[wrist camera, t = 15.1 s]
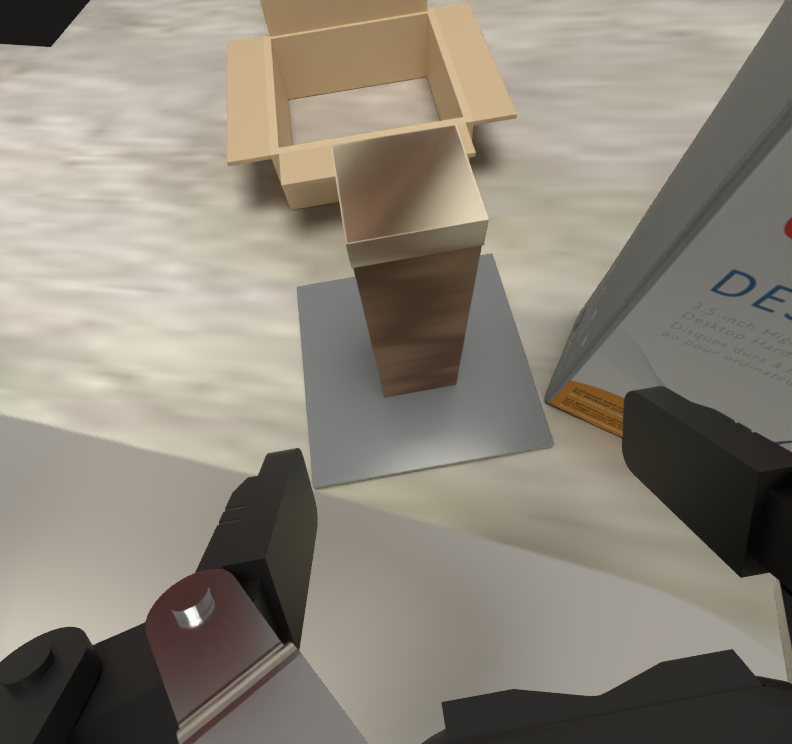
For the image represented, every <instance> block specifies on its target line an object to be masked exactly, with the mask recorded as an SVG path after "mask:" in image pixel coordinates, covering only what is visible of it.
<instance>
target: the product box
mask: <svg viewBox="0 0 792 744" xmlns="http://www.w3.org/2000/svg"><path fill="white" fill-rule="evenodd" d="M89 1H90V0H0V44H12V45H28V46H44V47H51V46H52V45H53V44H54V43H55V41H56V40H57V39H58V38H59V37H60V35H61V34H62V33H63V32H64V31H65V29H66V28H67V27H68V26H69V25H70V24H71V22H72V21H73V20H74V19H75V18H76V16H77V15H78V14H79V13H80V12H81V10H82V9H83V8H84V7H85V6H86V4H87V3H88V2H89Z"/></svg>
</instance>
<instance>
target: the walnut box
mask: <svg viewBox="0 0 792 744" xmlns="http://www.w3.org/2000/svg"><path fill="white" fill-rule="evenodd" d="M331 151H332V157H333V164H334V170H335V177H336V183H337V190H338V196H339V203H340V209H341V216H342V222H343V229H344V235H345V242H346V247H347V251H348V255H349V259H350V263H351V267H352V268H353V269H354V273H355V277H356V281H357V286H358V290H359V294H360V298H361V302H362V306H363V311H364V315H365V319H366V323H367V327H368V332H369V336H370V340H371V344H372V348H373V352H374V357H375V361H376V365H377V369H378V373H379V377H380V382H381V386H382V390H383V394H384V398H386V397H392V396H397V395H403V394H408V393H414V392H419V391H425V390H431V389H436V388H442V387H447V386H453V385H456V383H457V378H458V372H459V367H460V361H461V356H462V351H463V345H464V340H465V334H466V329H467V323H468V318H469V312H470V307H471V302H472V296H473V291H474V285H475V280H476V274H477V269H478V263H479V258H480V253H481V247H482V245H484V241H485V236H486V231H487V226H488V220H489V219H488V216H487V213H486V210H485V207H484V204H483V201H482V198H481V195H480V193H479V190H478V187H477V184H476V181H475V178H474V175H473V172H472V169H471V166H470V163H469V160H468V157H467V154H466V152H465V149H464V146H463V143H462V140H461V137H460V134H459V131H458V128H457V125H456V124H453V125H447V126H441V127H435V128H430V129H424V130H418V131H412V132H406V133H400V134H395V135H389V136H383V137H377V138H371V139H365V140H360V141H354V142H348V143H342V144H336V145H331Z"/></svg>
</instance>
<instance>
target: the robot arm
mask: <svg viewBox="0 0 792 744" xmlns="http://www.w3.org/2000/svg"><path fill="white" fill-rule="evenodd" d="M622 452H623V456H624V460H625V462H626V464H627V466H628V468H629V470H630V471H631V472H632V473H633V474H634V475H635V476H636V477H637V478H638V479H639V480H640V481H641V482H642V483H643V484H644V485H645V486H646V487H647V488H648V489H649V490H650V491H651V492H652V493H653V494H655V495H656V496H657V497H658V498H659V499H660V500H661V501H662V502H663V503H664V504H665V505H666V506H667V507H668V508H669V509H670V510H671V511H672V512H673V513H674V514H675V515H676V516H677V517H678V518H679V519H680V520H681V521H683V522H684V523H685V524H686V525H687V526H688V527H689V528H690V529H691V530H692V531H693V532H694V533H695V534H696V535H697V536H698V537H699V538H700V539H701V540H702V541H703V542H704V543H705V544H706V545H707V546H708V547H709V548H711V549H712V550H713V551H714V552H715V553H716V554H717V555H718V556H719V557H720V558H721V559H722V560H723V561H724V562H725V563H726V564H727V565H728V566H729V567H730V568H731V569H732V570H733V571H734V572H735V573H736V574H737V575H739V576H740V577H741V578H742V577H748V576H753V575H759V574H764V573H771V574H772V575H773V576H775V577H776V583H775V588H774V598H775V604H776V610H777V616H778V623H779V629H780V635H781V641H782V647H783V653H784V659H785V665H786V671H787V678H788V682H786V681H782V680H777V679H771V678H766V677H761V676H755V675H754V674H753V673H752V672H751V671H750V669H749V668H748V667H747V666H746V664H745V663H744V662H743V661H742V660H741V659H740V657H739V656H738V655H737V654H736V653H735V651H734V650H733V649H731V650H725V651H720V652H714V653H709V654H703V655H698V656H692V657H687V658H681V659H676V660H670V661H665V662H661V663H659V664H657V665H655V666H653V667H652V668H650V669H648V670H646V671H645V672H643V673H641V674H639V675H637V676H635V677H634V678H632V679H630V680H628V681H626V682H624V683H623V684H621V685H619V686H617V687H616V688H614V689H612V690H610V691H608V692H606V693H604V694H602V695H599V696H582V695H570V694H560V693H550V692H538V691H528V690H517V689H512V690H506V691H500V692H495V693H490V694H484V695H479V696H473V697H468V698H463V699H457V700H451V701H446V702H442V708H443V714H444V721H445V726H446V729H444V730H443V731H441V732H439V733H437V734H435V735H433V736H432V737H430V738H429V739H427V740H426V741H425V742H423V743H422V744H792V452H791V451H789V450H787V449H785V448H784V447H782V446H780V445H778V444H776V443H775V442H773V441H771V440H769V439H767V438H766V437H764V436H762V435H760V434H759V433H757V432H752V431H751V429H750V428H748V427H746V426H744V425H742V424H741V423H739V422H738V423H735V420H733V419H732V418H730V417H728V416H726V415H724V414H723V413H721V412H719V411H717V410H715V409H713V408H709V407H706V406H703V405H700V404H697V403H693V402H691V401H689V400H687V399H686V398H684V397H682V396H680V395H679V394H677V393H675V392H673V391H672V390H670V389H668V388H666V387H664V386H656V387H650V388H644V389H639V390H633V391H629V392H628V393H627V394H626V395H625V398H624V410H623V436H622ZM316 532H317V508H316V503H315V498H314V495H313V491H312V487H311V484H310V480H309V476H308V472H307V469H306V465H305V461H304V458H303V455H302V452H301V450H300V449H299V448H296V449H290V450H284V451H278V452H273V453H268V454H267V455H266V457H265V460H264V462H263V465H262V467H261V470H260V472H259V475H258V476H254V477H248V478H247V479H246V480H245V481H244V482H243V483H242V484H241V485H240V486H239V487H238V488H237V489H236V490H235V491H234V492H233V493H232V495H231V497H230V500H229V501H228V503H227V506H226V508H225V512H223V514H222V516H221V518H220V521H219V525H218V526H217V527H216V529H215V531H214V533H213V536H212V538H211V540H210V542H209V544H208V546H207V548H206V551H205V553H204V555H203V557H202V559H201V561H200V564H199V566H198V568H197V570H196V572H195V573H194V574H192V575H190V576H187V577H186V578H184V579H182V580H180V581H179V582H177V583H176V584H174V585H173V586H171V587H170V588H169V589H168V590H167V591H166V592H165V593H163V594H162V595H161V596H160V597H159V599H158V600H157V601H156V602H155V604H154V605H153V606H152V608H151V610H150V612H149V614H148V616H147V619H146V622H145V623H143V624H141V625H139V626H136V627H134V628H131V629H129V630H127V631H125V632H122V633H120V634H118V635H115V636H113V637H111V638H109V639H106V640H104V641H102V642H99V643H97V644H95V645H92V644H91V642H90V640H89V639H88V637H87V636H86V634H85V632H84V631H83V630H81V629H80V628H76V627H64V628H59V629H55V630H52V631H49V632H47V633H44V634H42V635H40V636H38V637H36V638H34V639H32V640H31V641H29V642H27V643H25V644H24V645H22V646H21V647H19V648H18V649H16V650H15V651H13V652H12V653H11V654H10V655H8V656H7V657H6V658H5V659H3V660H2V661H1V662H0V744H368V743H367V741H366V740H365V739H364V737H363V736H362V734H361V733H360V732H359V730H358V729H357V728H356V727H355V725H354V724H353V722H352V721H351V720H350V719H349V717H348V716H347V714H346V713H345V712H344V710H343V709H342V708H341V706H340V705H339V704H338V702H337V701H336V700H335V698H334V697H333V696H332V694H331V693H330V692H329V690H328V689H327V687H325V685H324V684H323V682H322V681H321V679H320V678H319V677H318V675H317V674H316V673H315V671H314V670H313V669H312V667H311V666H310V665H309V663H308V662H307V661H306V659H305V658H304V657H303V655H302V654H301V653H300V651H299V648H300V641H301V635H302V628H303V621H304V614H305V607H306V601H307V594H308V587H309V580H310V573H311V566H312V560H313V553H314V546H315V539H316Z"/></svg>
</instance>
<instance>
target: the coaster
mask: <svg viewBox="0 0 792 744" xmlns="http://www.w3.org/2000/svg"><path fill="white" fill-rule="evenodd" d="M297 295H298V307H299V319H300V332H301V344H302V356H303V368H304V381H305V393H306V405H307V417H308V429H309V442H310V454H311V466H312V478H313V488H315V489H319V488H325V487H331V486H336V485H342V484H348V483H353V482H359V481H364V480H370V479H376V478H381V477H387V476H393V475H398V474H404V473H410V472H415V471H421V470H426V469H432V468H438V467H443V466H449V465H455V464H460V463H466V462H472V461H477V460H483V459H488V458H494V457H500V456H505V455H511V454H517V453H522V452H528V451H534V450H539V449H545V448H551V447H552V446H553V445H554V442H553V439H552V436H551V433H550V430H549V427H548V424H547V421H546V418H545V415H544V412H543V408H542V405H541V402H540V399H539V396H538V393H537V390H536V387H535V384H534V381H533V378H532V375H531V371H530V368H529V365H528V362H527V359H526V356H525V353H524V350H523V347H522V344H521V341H520V337H519V334H518V331H517V328H516V325H515V322H514V319H513V316H512V313H511V310H510V307H509V303H508V300H507V297H506V294H505V291H504V288H503V285H502V282H501V279H500V276H499V273H498V270H497V266H496V263H495V260H494V257H493V254H486V255H480V258H479V263H478V269H477V274H476V280H475V285H474V291H473V296H472V302H471V307H470V312H469V318H468V323H467V329H466V334H465V340H464V345H463V351H462V356H461V361H460V367H459V372H458V378H457V383H456V385H453V386H447V387H442V388H436V389H431V390H425V391H419V392H414V393H408V394H403V395H397V396H392V397H386V398H384V394H383V390H382V386H381V382H380V377H379V373H378V369H377V365H376V361H375V357H374V352H373V348H372V344H371V340H370V336H369V332H368V327H367V323H366V319H365V315H364V311H363V306H362V302H361V298H360V294H359V290H358V286H357V281H356V277H351V278H346V279H340V280H334V281H328V282H322V283H316V284H311V285H305V286H299V287H297Z"/></svg>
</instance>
